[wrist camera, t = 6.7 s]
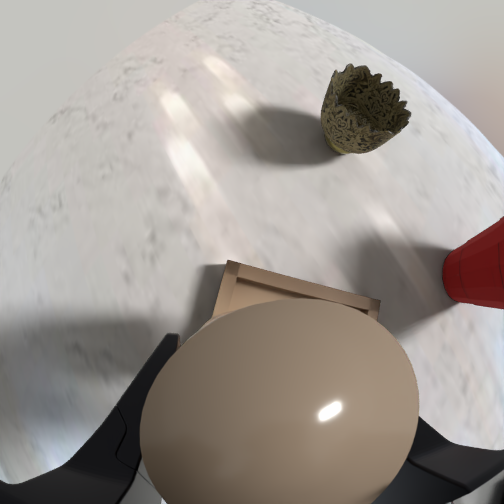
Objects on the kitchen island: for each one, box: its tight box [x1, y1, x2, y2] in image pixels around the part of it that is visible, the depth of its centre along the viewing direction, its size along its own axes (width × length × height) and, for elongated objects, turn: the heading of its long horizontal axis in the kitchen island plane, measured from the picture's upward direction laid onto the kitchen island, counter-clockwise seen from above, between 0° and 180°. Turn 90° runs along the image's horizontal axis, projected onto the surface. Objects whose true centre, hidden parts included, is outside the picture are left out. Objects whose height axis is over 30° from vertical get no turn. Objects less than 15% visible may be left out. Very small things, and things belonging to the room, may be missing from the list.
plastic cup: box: [443, 216, 504, 309], centre depth 21 cm, size 11×11×12 cm
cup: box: [321, 64, 411, 154], centre depth 24 cm, size 8×7×8 cm
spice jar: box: [140, 298, 419, 504], centre depth 10 cm, size 5×5×12 cm
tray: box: [212, 260, 380, 321], centre depth 21 cm, size 16×13×2 cm
